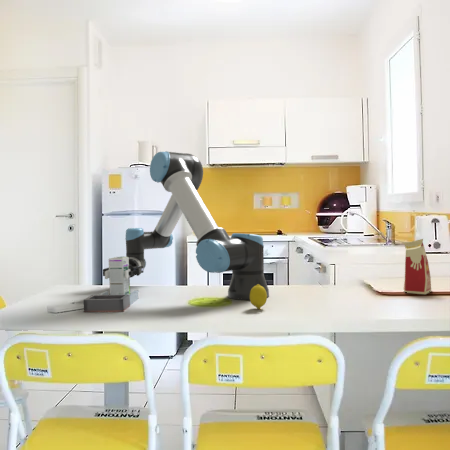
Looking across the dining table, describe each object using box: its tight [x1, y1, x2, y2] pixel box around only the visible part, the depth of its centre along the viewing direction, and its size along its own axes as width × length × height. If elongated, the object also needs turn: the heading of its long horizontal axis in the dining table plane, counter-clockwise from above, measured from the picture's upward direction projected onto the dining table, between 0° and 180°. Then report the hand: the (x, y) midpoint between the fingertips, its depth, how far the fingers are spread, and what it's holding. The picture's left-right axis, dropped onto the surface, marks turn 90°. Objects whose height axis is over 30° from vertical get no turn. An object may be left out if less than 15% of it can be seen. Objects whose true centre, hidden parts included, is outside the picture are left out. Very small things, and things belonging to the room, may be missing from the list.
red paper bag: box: [402, 238, 432, 295], centre depth 184 cm, size 9×9×20 cm
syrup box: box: [108, 256, 131, 295], centre depth 182 cm, size 6×6×14 cm
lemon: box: [249, 284, 268, 310], centre depth 158 cm, size 6×6×8 cm
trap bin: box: [83, 294, 131, 313], centre depth 163 cm, size 9×13×4 cm
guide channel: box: [98, 290, 139, 306], centre depth 175 cm, size 14×12×3 cm
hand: (115, 275), depth 177 cm, fingers closed on syrup box, 6 cm apart
